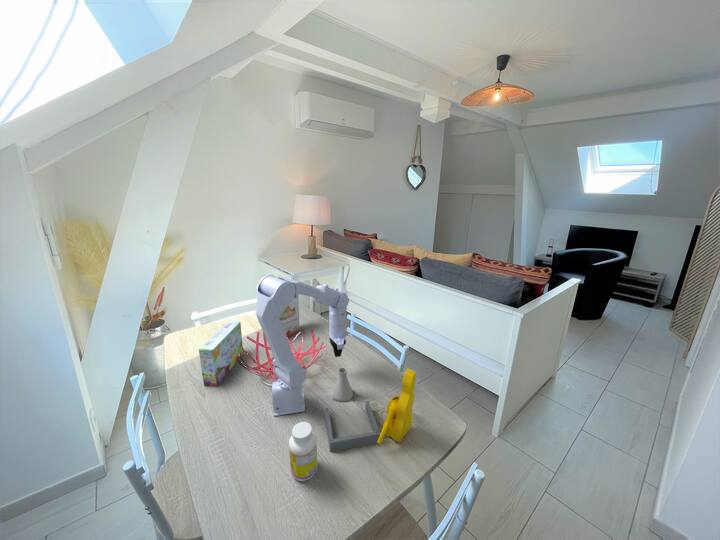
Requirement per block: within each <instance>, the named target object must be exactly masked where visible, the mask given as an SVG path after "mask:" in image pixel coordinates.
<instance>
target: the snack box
mask: <svg viewBox="0 0 720 540" xmlns="http://www.w3.org/2000/svg"><path fill="white" fill-rule="evenodd" d="M242 336H243V335H242V325H241V321H234V320H233V321H232V320H228V321H227V322H226V323H225V324H224V325H223V326H221V328H220V329H219V330H217V332H215V333H214V334H213V335H211V337H210V338H209V339H208V340H207V341H206V342H205V343H204V344H203V345H202V346H200V347H199V348H198V355H199V359H200V361H199V362H200V368H201V374H202V382H203V386H206V387H207V386H211V387H218V386H219V384H220V383H221V382H222V380H223V379H224V378H225V377H226V376H227V375H228V373H230V371H231V369H232V368H233V367H234V365H236V363H237V361H239V359H240V358H241V356H243V354H244V350H243V351H242V348H243V349H244V346H243V337H242ZM238 353H239V354H240V357H239V356H238Z"/></svg>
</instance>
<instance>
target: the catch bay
mask: <svg viewBox="0 0 720 540" xmlns="http://www.w3.org/2000/svg"><path fill="white" fill-rule="evenodd" d="M365 412H366V413H365V414H366V415H367V418H368V422H369V424H370V427H371V431H370V432H366V433H361V434H360V433H359V434H354V435H348V436H344V437H338V438H334V437H333V429H332V424H331V417H330V413H329V408H328V407H325V408H324V419H325V426H326V432H327V440H328V446H329V452H335V451H340V450H346V449H351V448H357V447H361V446H367V445H372V444H378V442H377V441H378V439H379V436H380V434H381V432H380V429H379V427H378V424H377V423H378V422H377V421H376V418H375V415H374V413H373V409H372V407H371V405H370V402H369V400H368V401H367V400H366V401H365Z"/></svg>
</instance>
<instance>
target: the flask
mask: <svg viewBox="0 0 720 540" xmlns="http://www.w3.org/2000/svg"><path fill="white" fill-rule="evenodd" d="M337 372H338V373H337V374H338V377H337V381H336V384H335V386H334V387H333V388H334V389H333V390H332V399H333V400H335V401H338V402H339V403H342V402H349V401H350V400H351V399H352V398H353V396H354V394H353V393H354V392H353V389H352V387H351V385H350V382H349V380H348V376H347V375H348V374H347V373H348V368H346V367H344V366H341V367H339V368H338V369H337Z"/></svg>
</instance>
